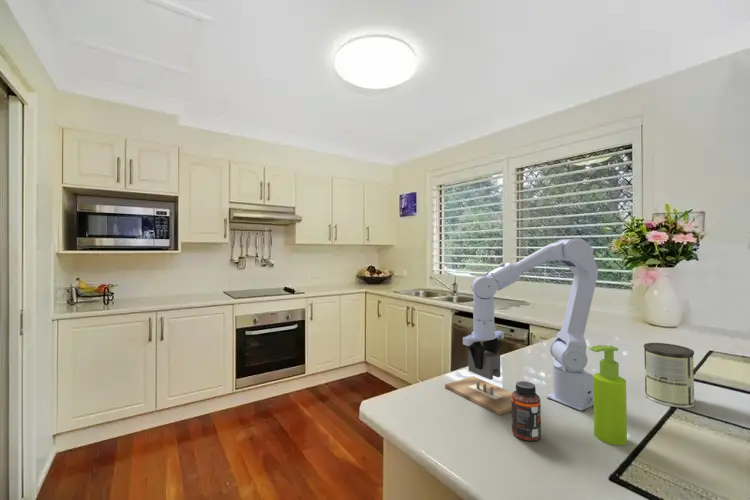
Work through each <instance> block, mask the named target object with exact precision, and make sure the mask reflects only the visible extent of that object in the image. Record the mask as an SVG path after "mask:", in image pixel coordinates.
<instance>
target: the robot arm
mask: <svg viewBox="0 0 750 500" xmlns="http://www.w3.org/2000/svg"><path fill="white" fill-rule="evenodd" d="M549 261H559V262H561V263H562V264H564V265H565V266H567V268H569V270H570V271H571V272H572V274H573V278H572V283H571V287H570V292H569V296H568V299H567V300H568V301H567V304H566V308H565V313H564V318H563V322H562V326H561V329H560V330H559V331H558V332H557V333H556V336H555V339H554V340H553V342H552V343H550V347H549V351H550V354H551V356H552V357H553V358H554V360H553V363H552V377H553V379H552V380H553V381H552V382H553V383H552V385H553V390H552V391H553V392H551V393H550V394H546V398H547V399H550V400H551V401H555V402H558V403H560V404H562V405H564V406H567V407H570V408H572V409H575V410H578V411H585V410H586V409H588V408H590V407H592V406H593V407H594V389H593V375H594V374H592V373H589V372H587V371H586V370H585V369H584V368H586V366H587V364H588V356H587V348H588V347H587V346H588V345H587V342H586V339H585V331H586V326H587V323H588V318H589V313H590V309H591V306H592V301H593V297H594V292H595V288H596V285H597V279H598V275H599V269H598V265H597V262H596V260H595V256H594V248H593V247H592V246H591V245H590V244H589V242H587V241H586V240H585V239H582V238H580V237H576V238H571V239H569V238H568V239H567V238H561V239H558V240H556V241H555V242H552V243H550V244H547V245H545V246H543V247H541V248H539V249H538V250H536V251H534V252H533V253H531V254H528V255H527V256H526V257H524V258H522V259H520V260H519V261H517V262H515V263H512V262H506V263H504V262H501V263H499V264H498V267H496V268H495V269H492V270H491V271H489V272H488V271H486V272H484V274H483V275H484V276H478V277H476V278H474V279H473V281H472V285H471V286H470V288H471V292H473V302H472V315H473V317H472V318H473V319H472V320H473V323H472V324H473V329H472V330H473V331H471V334H469V335H466V336H463V337H462V345H464V346H466V347H467V348H468V350H470V353H471V355H472V358H473V361H474V365H475V368H477V369H480V370H481V369H482V368H483V356H484V352H485V350H486V351H489V352H492V353H495V354H498V351H499V350H500V348H501V346H502V342H503V341H501V340H502V339H504V338H505V332H504V331H502V330H495V303H494V296H495V295H496V292H497V291H501V290H504V289H505V288H507V287H509V286H511V285H513V284H514V283H516V282H518V281H520V279H521V275H522V274H523V273H525V272H527V271H530V270H531V269H534V268H536V267H538V266H541V265H542V264H545V263H546V262H549ZM499 339H501V340H499Z"/></svg>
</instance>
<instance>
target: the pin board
mask: <svg viewBox="0 0 750 500" xmlns="http://www.w3.org/2000/svg"><path fill="white" fill-rule="evenodd" d="M444 388H445V389H447V390H449V391H451V392H452V393H455V394H457V395H459V396H460V397H462V398H464V399H466V400H468V401H470V402H472V403H473V404H475V405H478V406H480V407H482V408H483V409H486V410H487V411H490V412H492V413H493V414H496V415H497V416H502V415H504V414H508V413H510V412H512V404H511V400H512V399H511V396H512V393H513V391H509V390H507V389H504V388H503V387H500V386H497V385H495V384H493V383H491V382H488V381H486V380H483V379H481V378H479V377H475V376H470V377H467V378H463V379H458V380H456V381H451V382H449V383H445V384H444ZM509 411H510V412H509Z"/></svg>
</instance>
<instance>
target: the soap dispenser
mask: <svg viewBox="0 0 750 500" xmlns="http://www.w3.org/2000/svg"><path fill="white" fill-rule="evenodd" d="M588 350H590V351H592V352H595V353H598V352H599V353H600V352H603V353H604V354H603V355H604V356H603V359H600V360H599V372H598V373H594V374H592V375H593V389H594V405H593V434H594V436H595V438H597V439H598V440H599V441H602V442H603V443H605V444H608V445H613V446H625V445H626V444H627V443H628V429H627V427H628V421H627V420H628V419H627V417H628V416H627V380H626V379H625V378H623V377H622V376H620V374H619V373H620V370H619V369H620V368H619V362H618V361H616V360H615V353H614V352H615V351H616V352H618V351H619V347H615V346H614V345H606V344H604V345H601V344H600V345H595V346H591V347H589V348H588Z"/></svg>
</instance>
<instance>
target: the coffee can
mask: <svg viewBox="0 0 750 500" xmlns="http://www.w3.org/2000/svg"><path fill="white" fill-rule="evenodd" d="M643 349H644V386H645V387H644V389H645V390H644V395H645V397H646V398H648V399H649V401H652V402H655V403H657V404H659V405H660V404H661V405H663V406H668V407H673V408H679V409H681V408H682V409H691V408H693V407H695V404H696V403H695V381H694V379H695V377H694V375H695V374H694V371H695V370H694V369H695V368H694V364H695V363H694V355H695V351H694V350H693V349H691V348H689V347H687V346H683V345H678V344H673V343H672V344H671V343H666V342H665V343H663V342H647V343H644V344H643Z"/></svg>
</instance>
